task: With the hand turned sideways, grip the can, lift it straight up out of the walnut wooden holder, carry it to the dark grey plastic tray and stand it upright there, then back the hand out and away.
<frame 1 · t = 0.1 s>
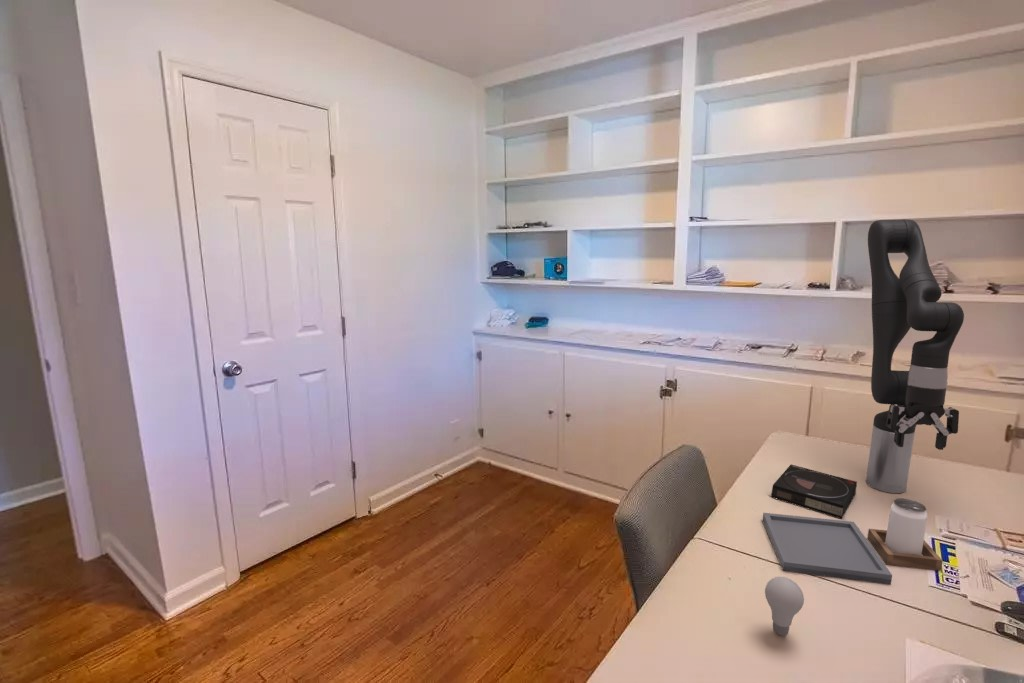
hand: (918, 447, 128), 17 cm above the table, tool pointing down, fingers open, 8 cm apart
holder: (902, 553, 115), on the table
can: (902, 554, 115), resting in holder
lightbulb: (780, 634, 93), on the table
tray: (820, 549, 117), on the table
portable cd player: (813, 497, 140), on the table
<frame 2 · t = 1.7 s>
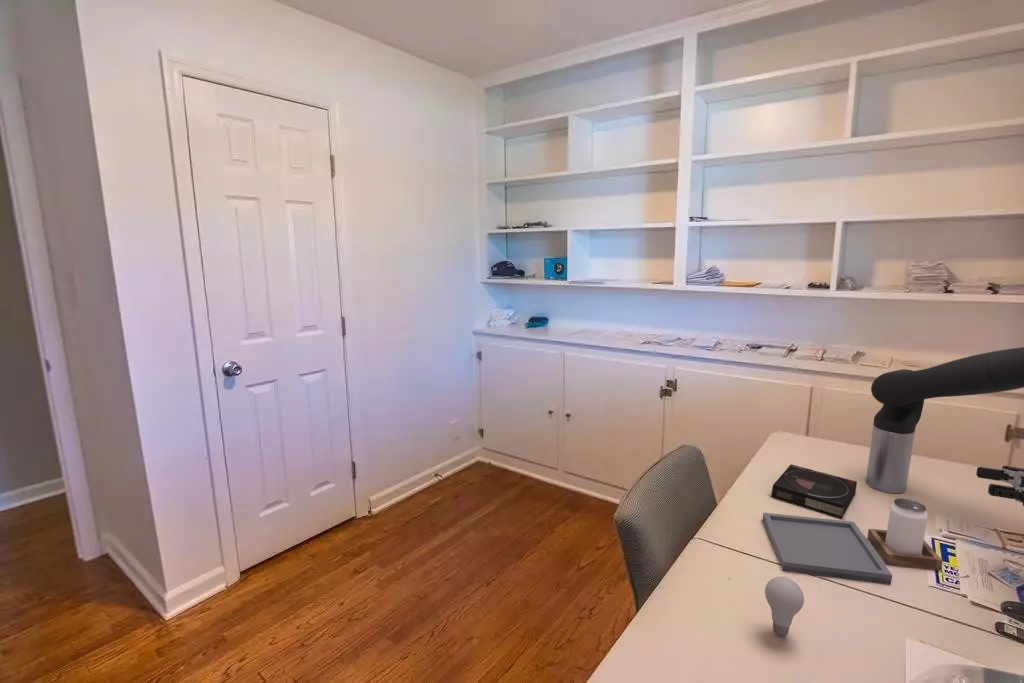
hand: (982, 480, 105), 20 cm above the table, tool horizontal, fingers open, 8 cm apart
nothing on the table moved.
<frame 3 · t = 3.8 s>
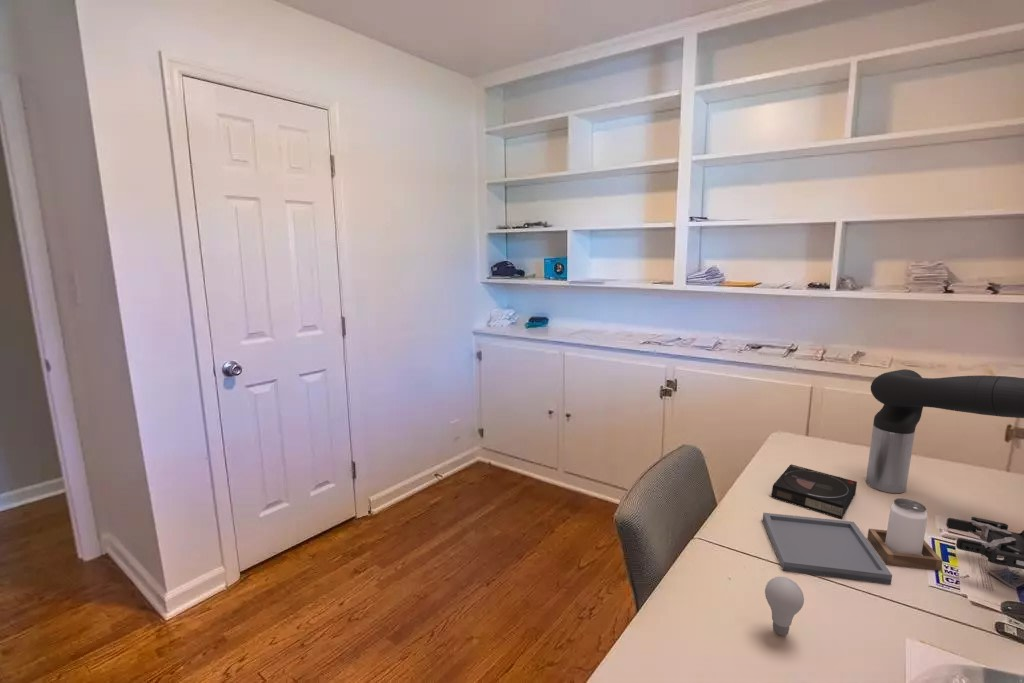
hand: (951, 532, 110), 7 cm above the table, tool horizontal, fingers open, 8 cm apart
nothing on the table moved.
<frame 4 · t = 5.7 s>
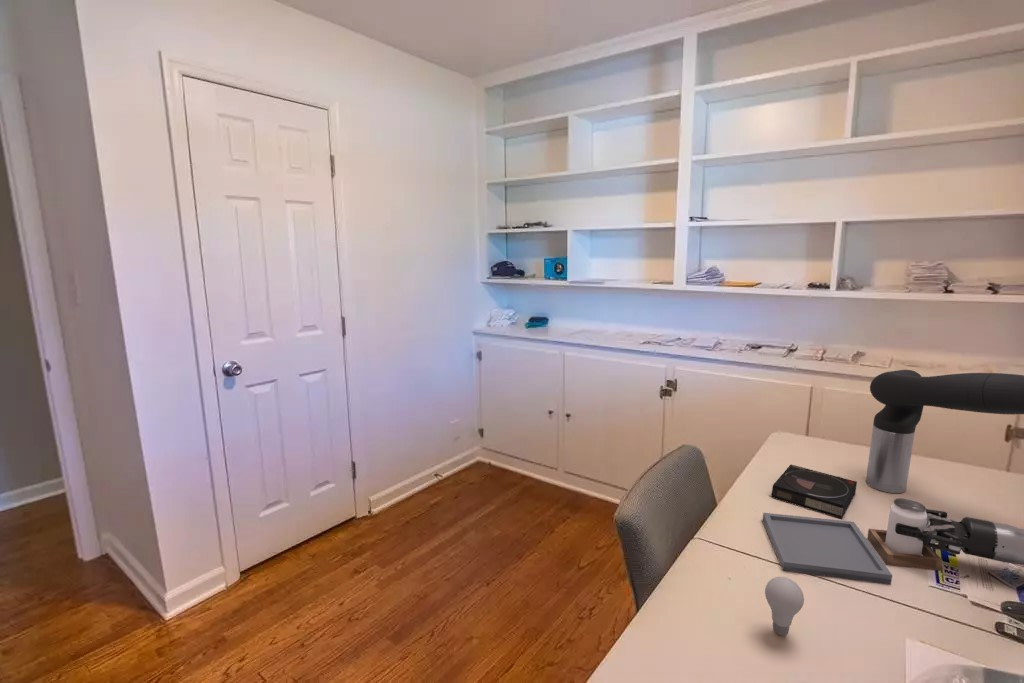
hand: (893, 520, 114), 8 cm above the table, tool horizontal, fingers closed on can, 6 cm apart
can: (902, 554, 115), resting in holder, touching gripper
everything else where it was.
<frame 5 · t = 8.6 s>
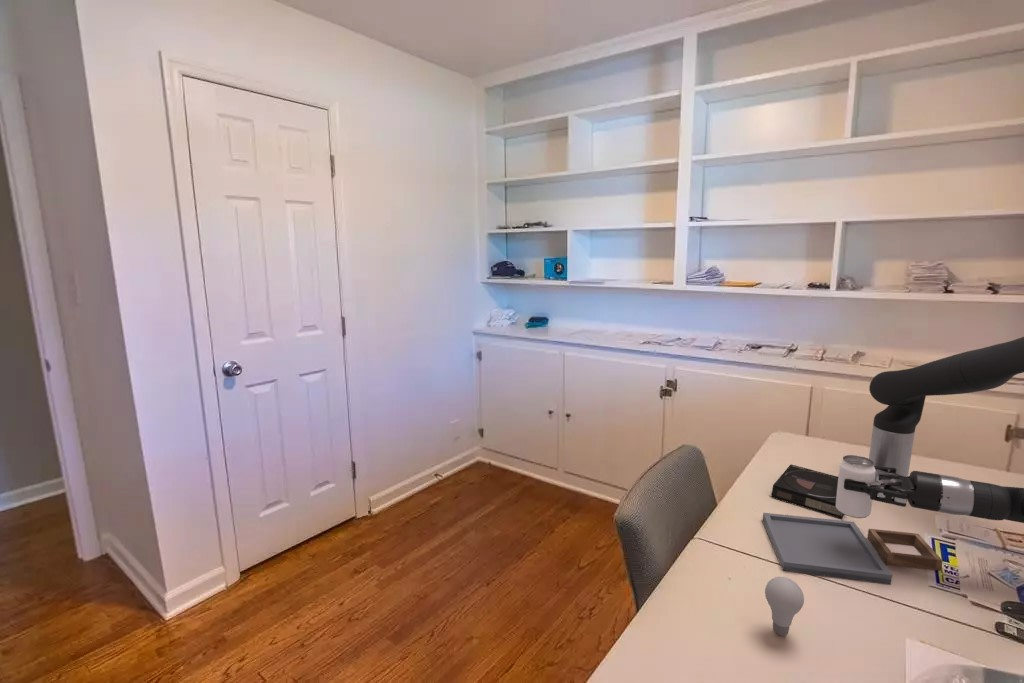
hand: (843, 477, 113), 18 cm above the table, tool horizontal, fingers closed on can, 6 cm apart
can: (852, 511, 114), point 10 cm above the table, touching gripper
everything else where it was.
when the fingers open (10 cm above the table, at t = 11.0 s): can drops 1 cm, resting on tray.
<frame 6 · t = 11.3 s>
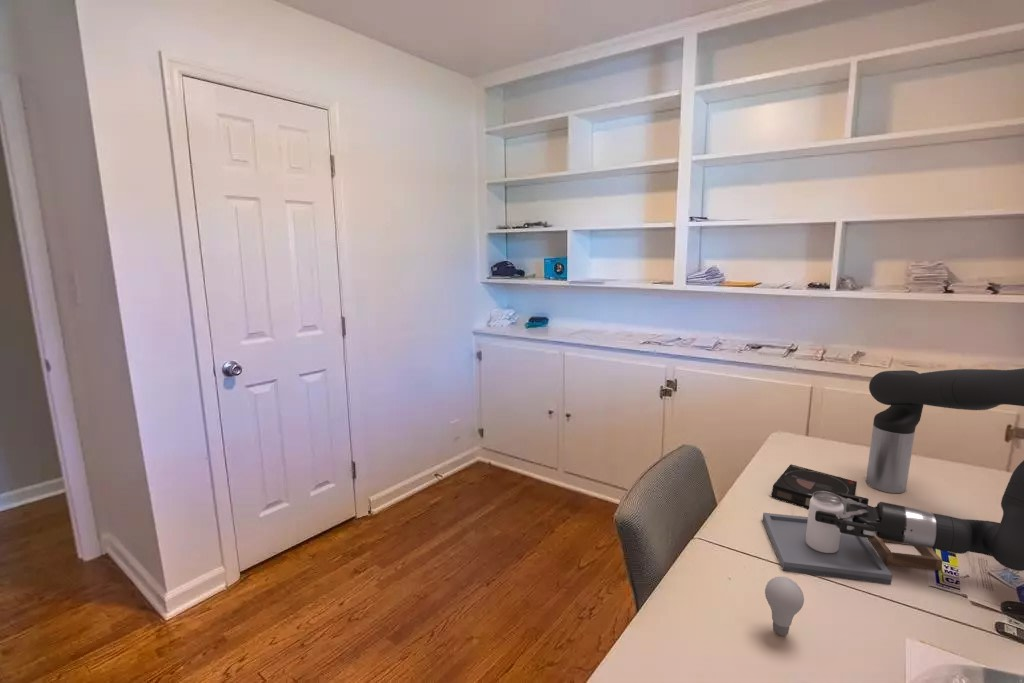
hand: (815, 506, 116), 10 cm above the table, tool horizontal, fingers open, 8 cm apart
can: (821, 546, 116), point 1 cm above the table, touching tray
everything else where it was.
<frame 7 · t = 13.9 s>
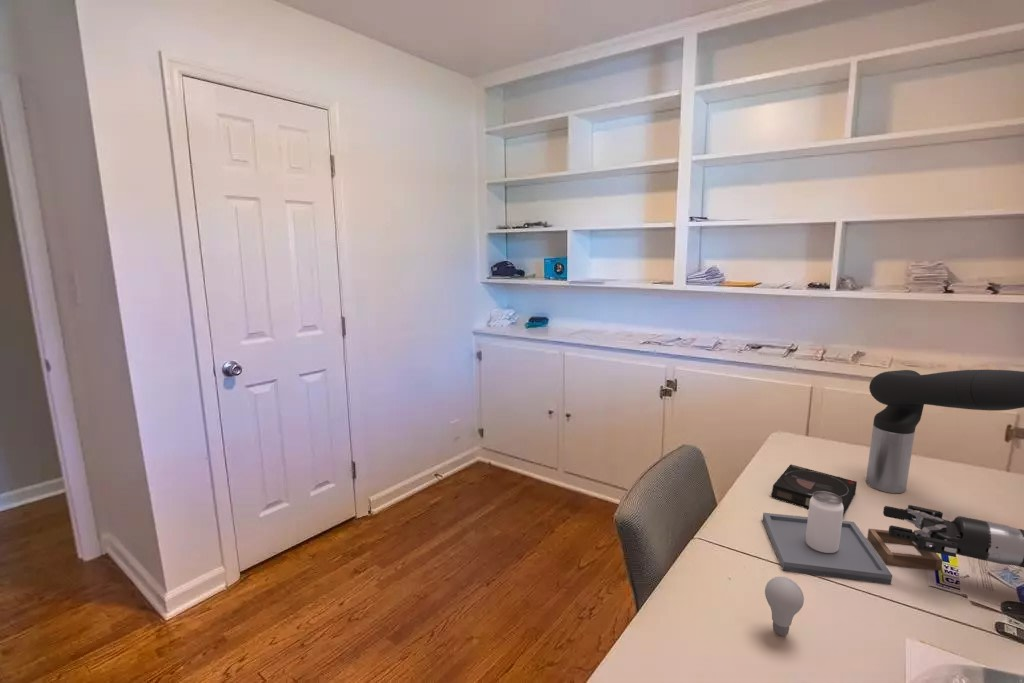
hand: (886, 520, 109), 10 cm above the table, tool horizontal, fingers open, 8 cm apart
nothing on the table moved.
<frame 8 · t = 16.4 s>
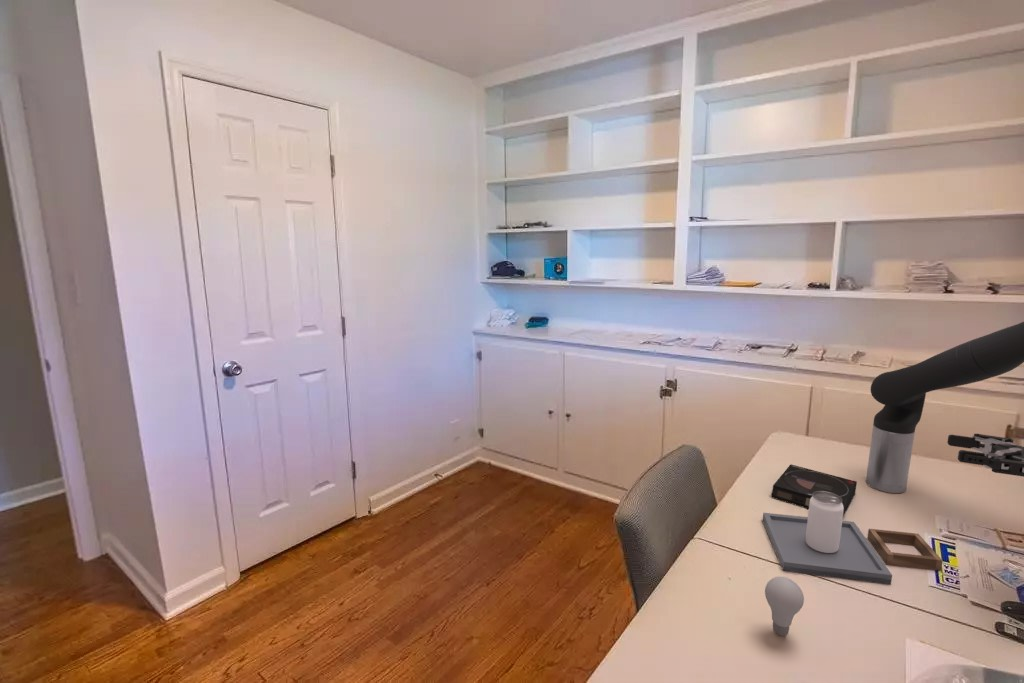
hand: (953, 447, 103), 28 cm above the table, tool horizontal, fingers open, 8 cm apart
nothing on the table moved.
at the end: can inside the target area on the tray (0.5 cm from its centre), point 1.0 cm above the tray's base; can tilted 0°; the gripper is holding nothing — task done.
